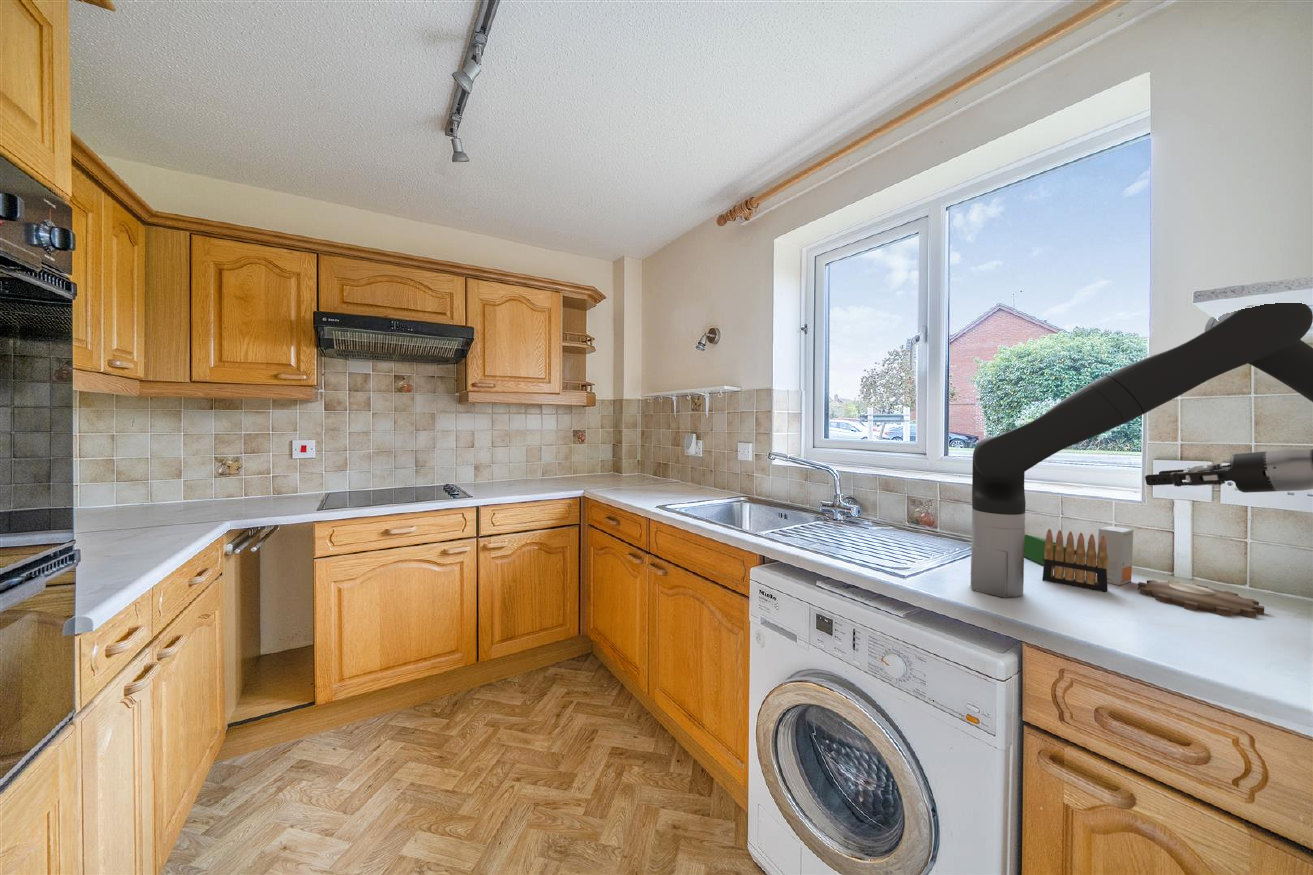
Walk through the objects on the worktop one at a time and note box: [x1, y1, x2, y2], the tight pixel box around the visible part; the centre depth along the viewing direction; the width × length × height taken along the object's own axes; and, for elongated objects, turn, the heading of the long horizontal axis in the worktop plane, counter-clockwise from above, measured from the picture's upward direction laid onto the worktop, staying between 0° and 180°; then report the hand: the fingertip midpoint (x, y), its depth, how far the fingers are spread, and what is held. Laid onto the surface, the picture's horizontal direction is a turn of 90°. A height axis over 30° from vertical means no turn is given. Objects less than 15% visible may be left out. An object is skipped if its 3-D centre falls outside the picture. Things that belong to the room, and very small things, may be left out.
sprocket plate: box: [1137, 579, 1265, 618], centre depth 95 cm, size 17×17×1 cm
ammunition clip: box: [1042, 528, 1109, 594], centre depth 103 cm, size 11×2×12 cm, turn 45°
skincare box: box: [1097, 525, 1134, 586], centre depth 106 cm, size 6×4×12 cm
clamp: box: [1024, 534, 1076, 568], centre depth 120 cm, size 12×6×9 cm, turn 165°
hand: (1153, 478), depth 100 cm, fingers open, 8 cm apart
